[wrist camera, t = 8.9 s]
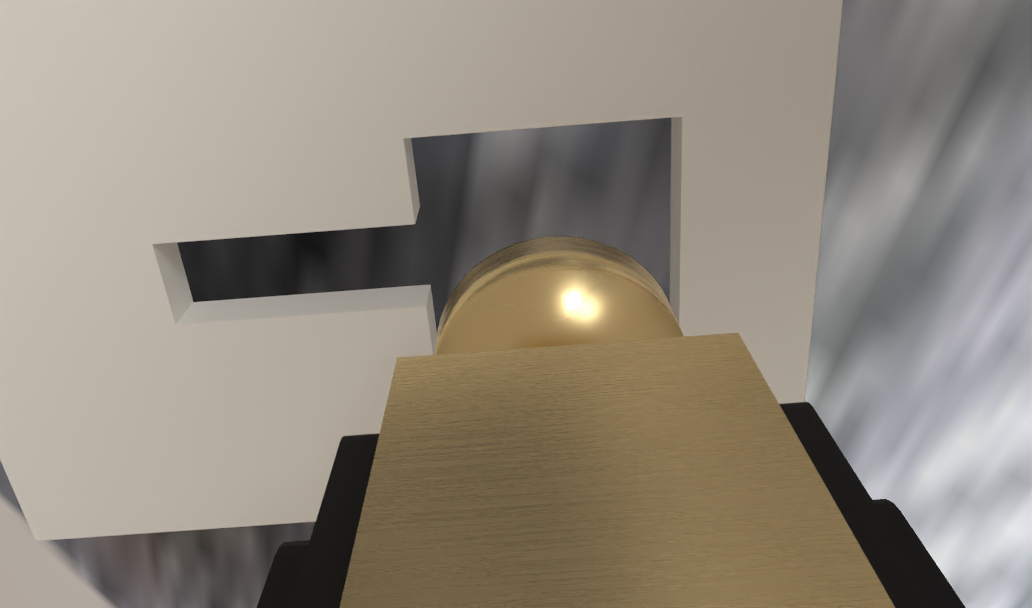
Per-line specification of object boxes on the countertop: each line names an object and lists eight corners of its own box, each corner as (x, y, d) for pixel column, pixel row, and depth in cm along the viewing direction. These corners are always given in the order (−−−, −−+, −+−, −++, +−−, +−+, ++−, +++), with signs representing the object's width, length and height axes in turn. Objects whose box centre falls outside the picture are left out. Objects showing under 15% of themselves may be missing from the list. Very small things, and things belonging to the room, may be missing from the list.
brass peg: (677, 227, 14) (1103, 974, 4) (674, 438, 16) (961, 1297, 6) (423, 245, 14) (243, 1027, 4) (450, 454, 16) (371, 1327, 6)
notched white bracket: (747, -111, 21) (854, -119, 15) (727, 351, 28) (796, 488, 21) (0, -49, 22) (-213, -30, 15) (143, 394, 28) (35, 540, 21)
